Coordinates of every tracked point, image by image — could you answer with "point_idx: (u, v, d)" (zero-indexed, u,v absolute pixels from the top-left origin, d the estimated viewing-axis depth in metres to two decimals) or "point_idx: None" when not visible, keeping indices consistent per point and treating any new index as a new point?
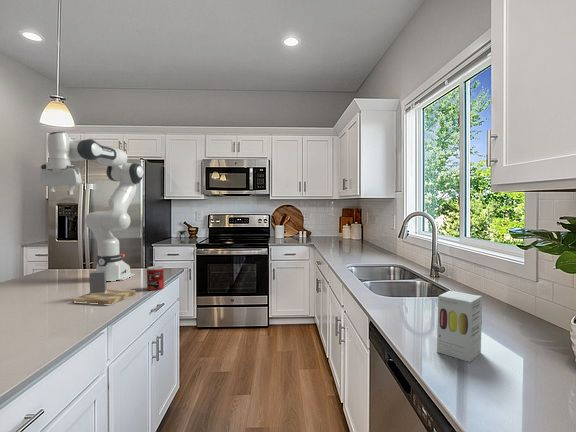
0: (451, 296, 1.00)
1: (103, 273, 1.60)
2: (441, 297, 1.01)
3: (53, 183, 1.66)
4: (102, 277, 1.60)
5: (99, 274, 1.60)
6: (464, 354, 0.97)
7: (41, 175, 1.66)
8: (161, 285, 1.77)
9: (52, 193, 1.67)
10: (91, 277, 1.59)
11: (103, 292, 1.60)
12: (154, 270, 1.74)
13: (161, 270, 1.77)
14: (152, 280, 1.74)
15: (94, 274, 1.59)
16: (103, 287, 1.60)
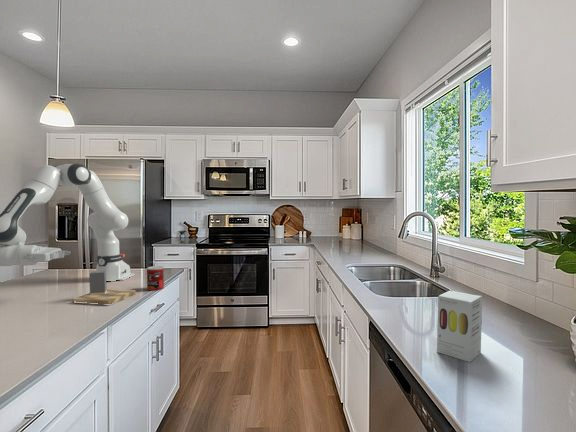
0: (451, 296, 1.00)
1: (103, 273, 1.60)
2: (441, 297, 1.01)
3: None
4: (102, 277, 1.60)
5: (99, 274, 1.60)
6: (464, 354, 0.97)
7: None
8: (161, 285, 1.77)
9: (67, 254, 1.61)
10: (91, 277, 1.59)
11: (103, 292, 1.60)
12: (154, 270, 1.74)
13: (161, 270, 1.77)
14: (152, 280, 1.74)
15: (94, 274, 1.59)
16: (103, 287, 1.60)
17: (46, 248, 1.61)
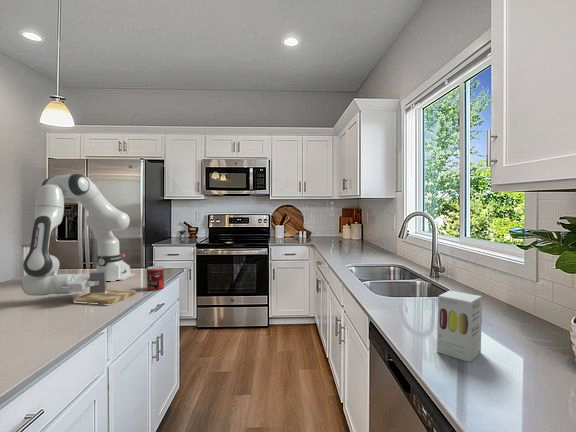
0: (451, 296, 1.00)
1: (103, 273, 1.60)
2: (441, 297, 1.01)
3: None
4: (102, 277, 1.60)
5: (99, 274, 1.60)
6: (464, 354, 0.97)
7: None
8: (161, 285, 1.77)
9: None
10: (91, 277, 1.59)
11: (103, 292, 1.60)
12: (154, 270, 1.74)
13: (161, 270, 1.77)
14: (152, 280, 1.74)
15: (94, 274, 1.59)
16: (103, 287, 1.60)
17: (79, 275, 1.66)
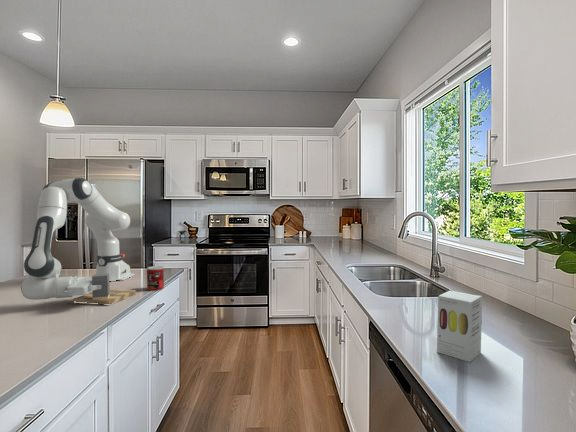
0: (451, 296, 1.00)
1: (106, 276, 1.53)
2: (441, 297, 1.01)
3: None
4: (105, 280, 1.53)
5: (102, 277, 1.52)
6: (464, 354, 0.97)
7: None
8: (161, 285, 1.77)
9: None
10: (93, 281, 1.51)
11: (106, 296, 1.53)
12: (154, 270, 1.74)
13: (161, 270, 1.77)
14: (152, 280, 1.74)
15: (97, 277, 1.52)
16: (106, 291, 1.53)
17: (81, 278, 1.59)
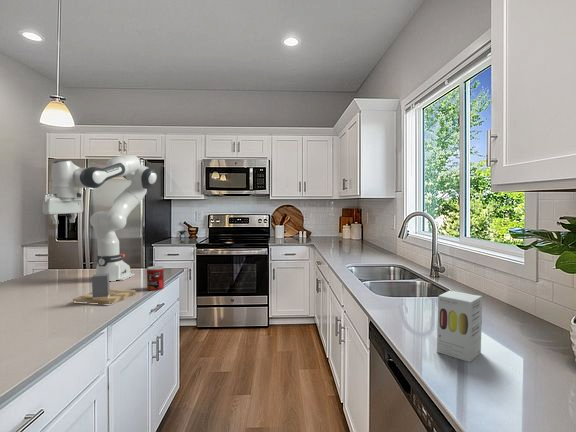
0: (451, 296, 1.00)
1: (106, 276, 1.53)
2: (441, 297, 1.01)
3: None
4: (105, 281, 1.53)
5: (102, 277, 1.52)
6: (464, 354, 0.97)
7: None
8: (161, 285, 1.77)
9: None
10: (93, 281, 1.51)
11: (106, 296, 1.53)
12: (154, 270, 1.74)
13: (161, 270, 1.77)
14: (152, 280, 1.74)
15: (97, 277, 1.52)
16: (106, 291, 1.53)
17: (79, 202, 1.73)
